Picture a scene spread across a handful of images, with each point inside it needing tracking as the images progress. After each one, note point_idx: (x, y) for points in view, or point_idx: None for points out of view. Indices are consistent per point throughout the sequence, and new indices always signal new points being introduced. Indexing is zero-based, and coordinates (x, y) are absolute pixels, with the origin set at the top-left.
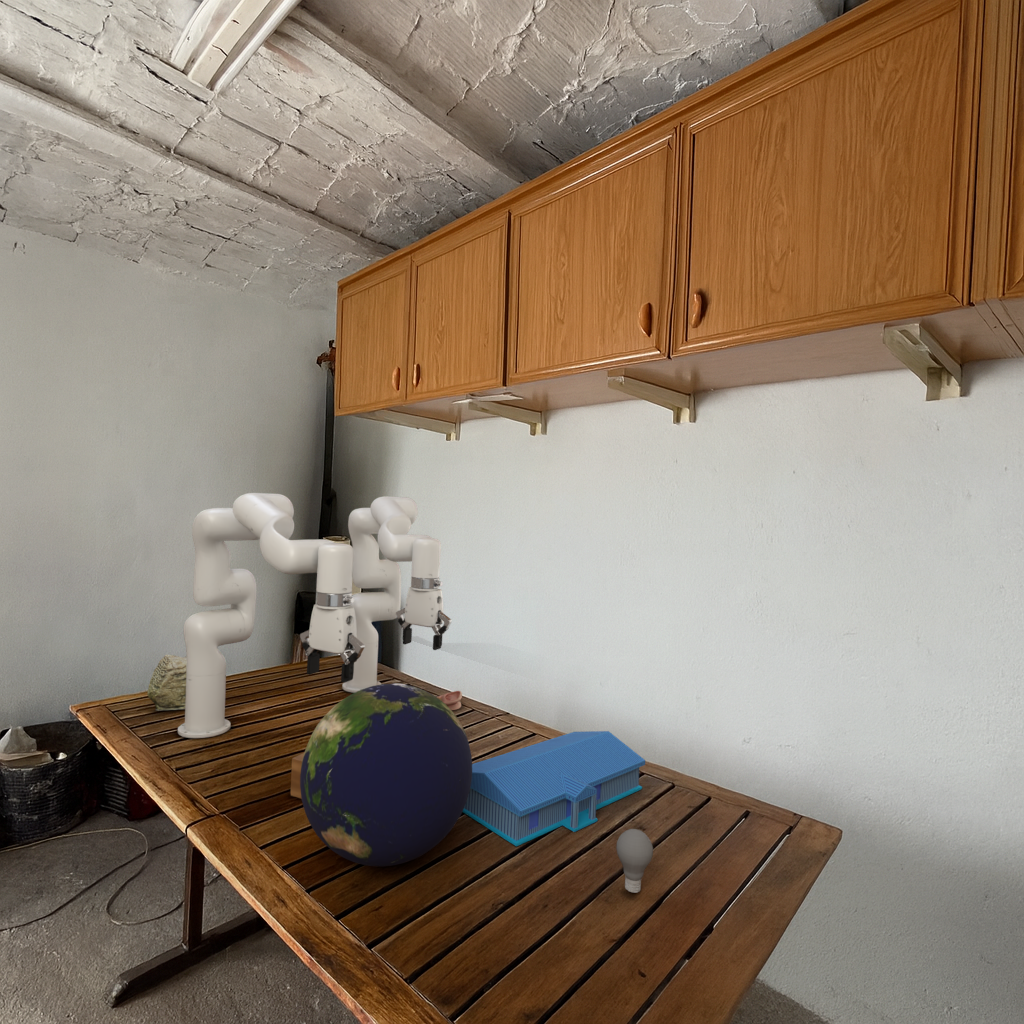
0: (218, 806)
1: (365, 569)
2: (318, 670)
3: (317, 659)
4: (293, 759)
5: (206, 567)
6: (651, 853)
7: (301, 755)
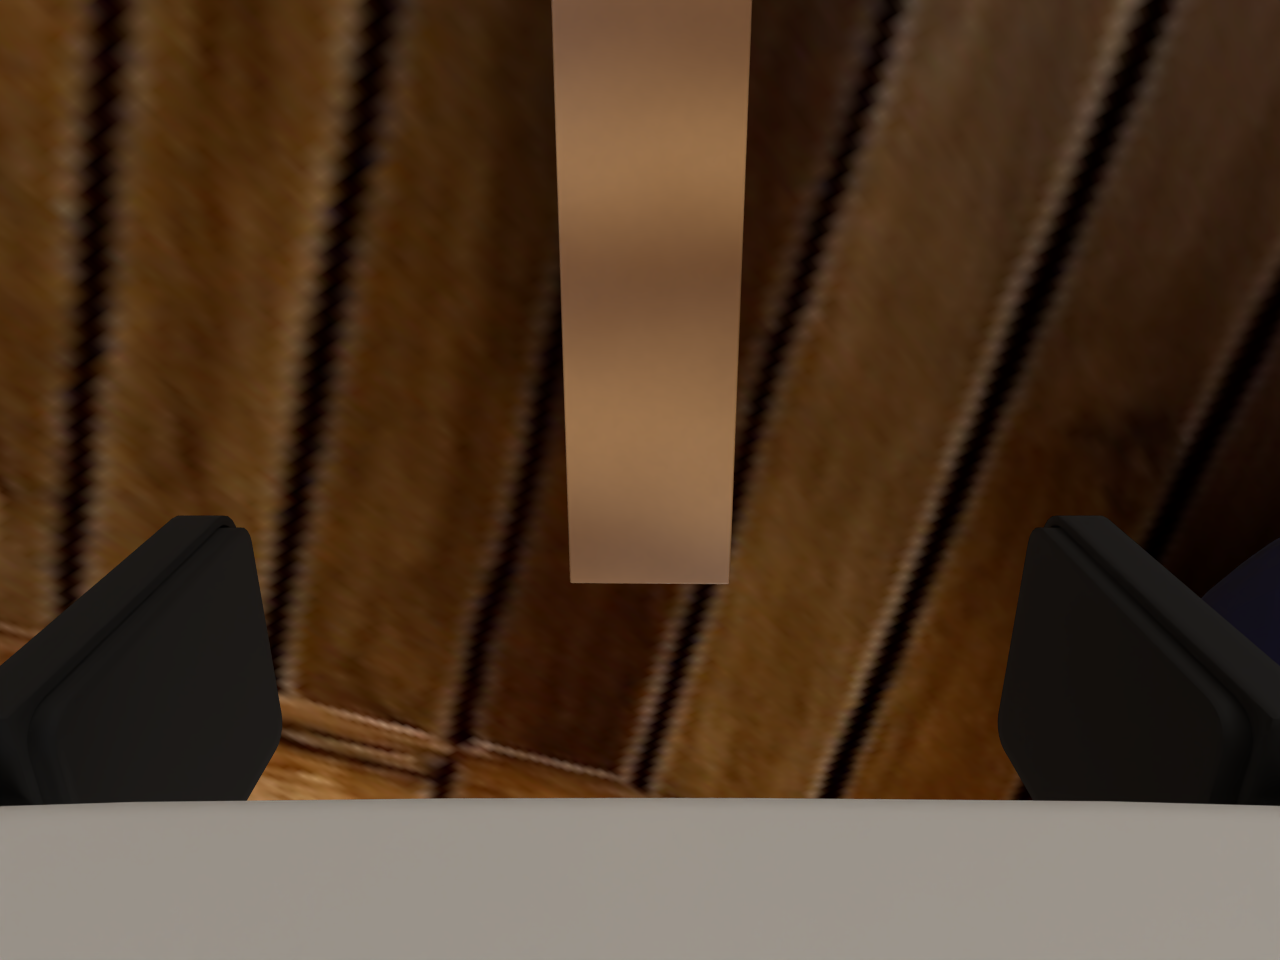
0: (394, 712)
1: None
2: (239, 541)
3: (133, 729)
4: (585, 582)
5: None
6: None
7: (587, 520)
